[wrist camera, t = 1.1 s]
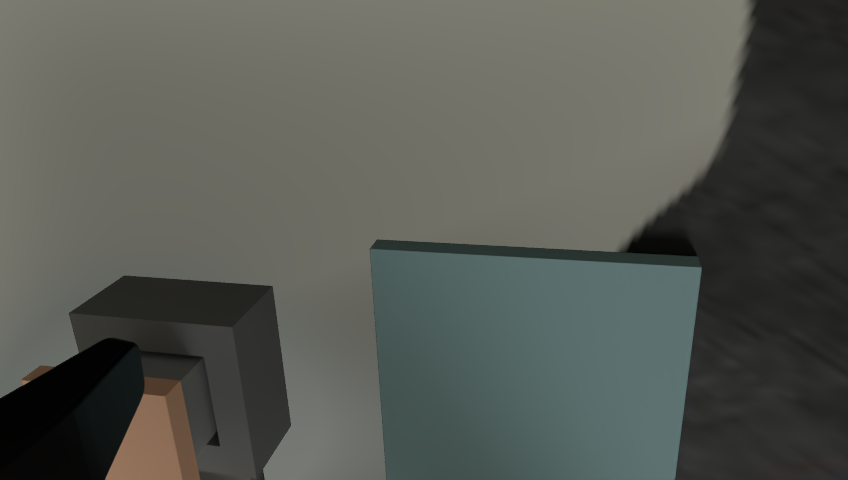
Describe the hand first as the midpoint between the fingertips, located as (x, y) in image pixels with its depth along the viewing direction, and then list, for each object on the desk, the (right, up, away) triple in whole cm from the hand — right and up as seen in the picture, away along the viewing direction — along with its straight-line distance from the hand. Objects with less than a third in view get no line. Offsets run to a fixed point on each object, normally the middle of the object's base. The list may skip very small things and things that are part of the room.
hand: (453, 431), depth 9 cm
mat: (+3, -3, +14) cm, 15 cm away
